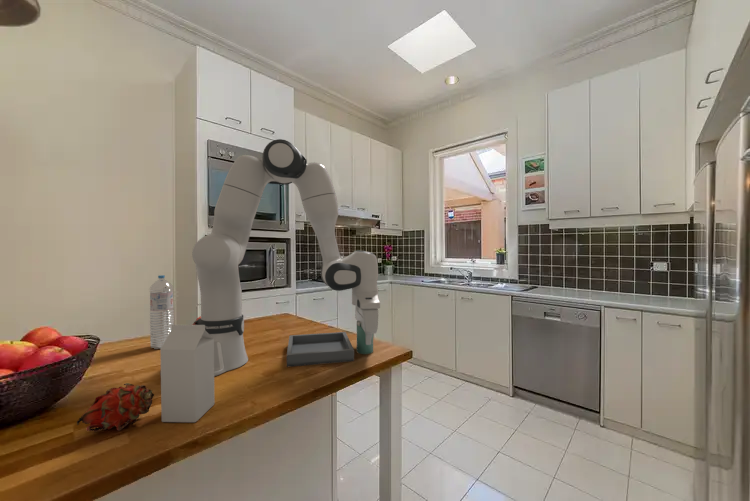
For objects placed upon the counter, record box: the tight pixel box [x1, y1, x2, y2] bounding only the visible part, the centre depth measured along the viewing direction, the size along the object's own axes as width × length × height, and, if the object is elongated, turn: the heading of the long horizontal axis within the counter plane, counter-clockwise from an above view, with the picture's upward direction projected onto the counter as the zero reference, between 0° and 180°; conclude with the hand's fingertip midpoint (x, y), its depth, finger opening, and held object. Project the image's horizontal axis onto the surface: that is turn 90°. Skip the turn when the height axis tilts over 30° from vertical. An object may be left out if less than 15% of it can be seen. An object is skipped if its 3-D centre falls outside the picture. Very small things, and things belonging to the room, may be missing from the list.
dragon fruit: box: [76, 382, 156, 433], centre depth 62 cm, size 8×8×12 cm
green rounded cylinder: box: [356, 320, 374, 355], centre depth 104 cm, size 6×6×10 cm
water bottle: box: [149, 274, 175, 350], centre depth 109 cm, size 7×7×25 cm
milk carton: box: [159, 324, 216, 423], centre depth 66 cm, size 7×7×19 cm
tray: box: [286, 331, 355, 368], centre depth 103 cm, size 20×20×4 cm
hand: (365, 339), depth 104 cm, fingers open, 8 cm apart
